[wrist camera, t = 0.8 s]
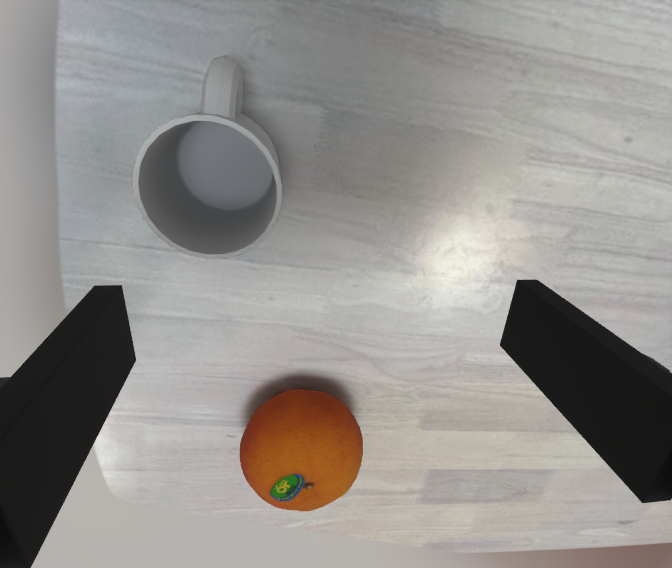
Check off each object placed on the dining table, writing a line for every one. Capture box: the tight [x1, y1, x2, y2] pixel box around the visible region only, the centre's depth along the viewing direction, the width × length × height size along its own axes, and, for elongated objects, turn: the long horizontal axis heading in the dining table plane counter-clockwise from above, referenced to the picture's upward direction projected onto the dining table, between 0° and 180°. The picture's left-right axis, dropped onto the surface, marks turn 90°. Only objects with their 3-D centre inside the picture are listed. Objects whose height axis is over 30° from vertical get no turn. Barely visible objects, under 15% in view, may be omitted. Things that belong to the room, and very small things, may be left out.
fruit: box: [240, 389, 363, 511], centre depth 35 cm, size 11×10×8 cm
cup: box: [132, 55, 282, 259], centre depth 24 cm, size 7×10×9 cm
